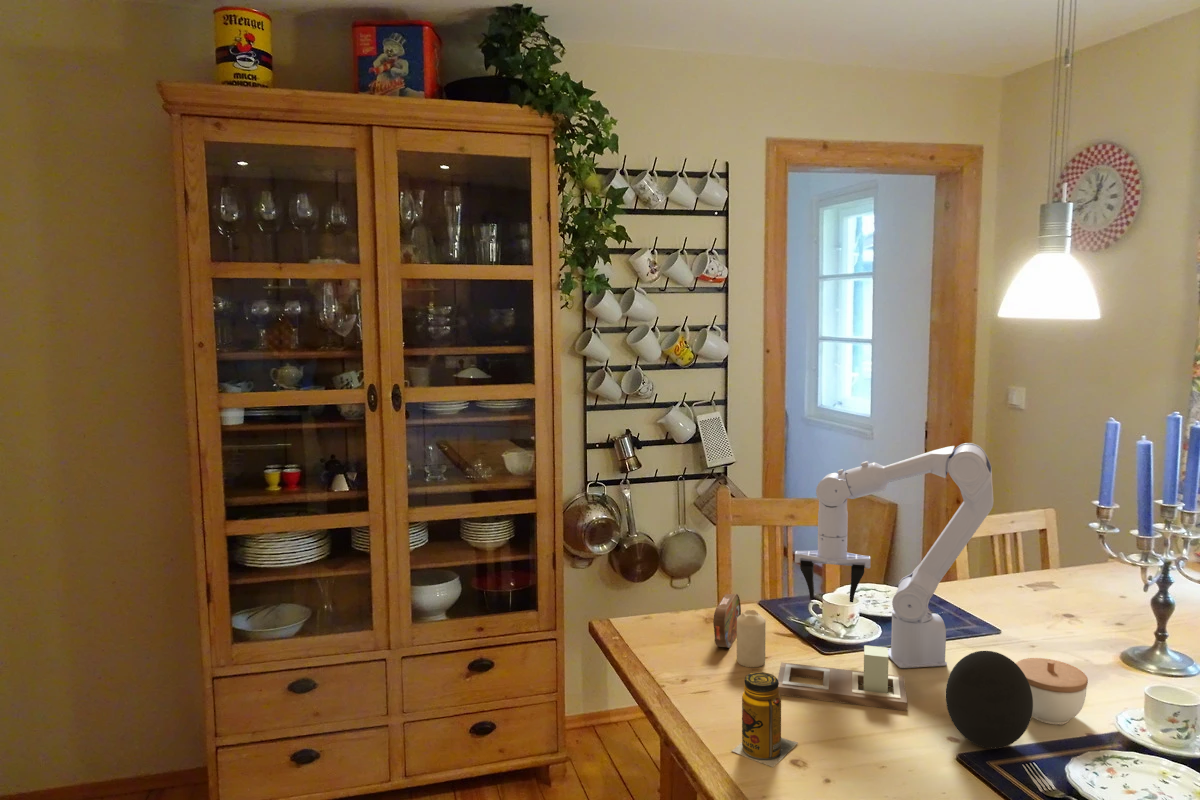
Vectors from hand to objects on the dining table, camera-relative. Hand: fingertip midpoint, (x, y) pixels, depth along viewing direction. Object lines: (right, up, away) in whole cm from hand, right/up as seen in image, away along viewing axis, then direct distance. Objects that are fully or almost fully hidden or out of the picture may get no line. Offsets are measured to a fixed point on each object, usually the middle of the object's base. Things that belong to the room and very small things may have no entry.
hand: (831, 598), depth 163 cm
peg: (+2, -12, -19) cm, 23 cm away
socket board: (-3, -12, -17) cm, 21 cm away
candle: (-17, -11, -5) cm, 21 cm away
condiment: (-21, -15, -35) cm, 44 cm away
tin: (-20, -10, +6) cm, 23 cm away
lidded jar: (+29, -13, -27) cm, 42 cm away
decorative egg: (+14, -14, -35) cm, 41 cm away
